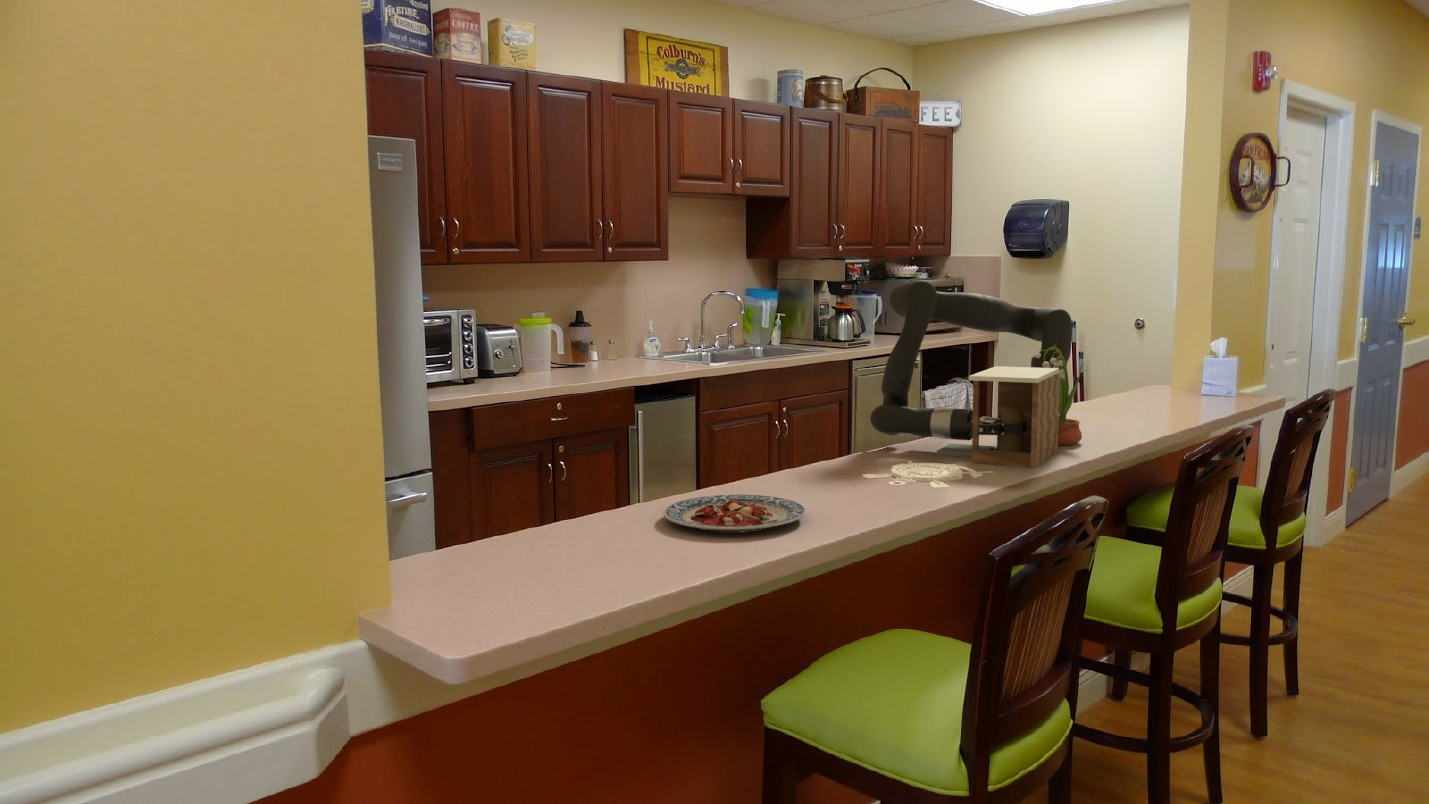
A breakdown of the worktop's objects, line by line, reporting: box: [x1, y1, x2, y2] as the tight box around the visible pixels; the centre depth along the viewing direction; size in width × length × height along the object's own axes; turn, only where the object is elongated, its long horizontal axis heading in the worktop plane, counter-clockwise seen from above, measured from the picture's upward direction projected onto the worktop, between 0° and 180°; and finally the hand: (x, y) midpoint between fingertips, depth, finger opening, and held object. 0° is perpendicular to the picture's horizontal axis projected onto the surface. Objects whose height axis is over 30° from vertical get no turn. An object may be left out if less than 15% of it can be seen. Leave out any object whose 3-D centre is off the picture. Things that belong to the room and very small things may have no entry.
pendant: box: [862, 460, 994, 489], centre depth 223 cm, size 21×28×1 cm
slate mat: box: [936, 443, 995, 458], centre depth 247 cm, size 11×11×1 cm
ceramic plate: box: [662, 493, 806, 533], centre depth 185 cm, size 26×26×3 cm
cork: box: [998, 410, 1026, 453], centre depth 241 cm, size 6×6×11 cm
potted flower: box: [1034, 345, 1084, 446], centre depth 257 cm, size 12×10×25 cm
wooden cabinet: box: [968, 365, 1060, 468], centre depth 241 cm, size 24×15×20 cm, turn 151°
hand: (1024, 428), depth 240 cm, fingers closed on cork, 4 cm apart
